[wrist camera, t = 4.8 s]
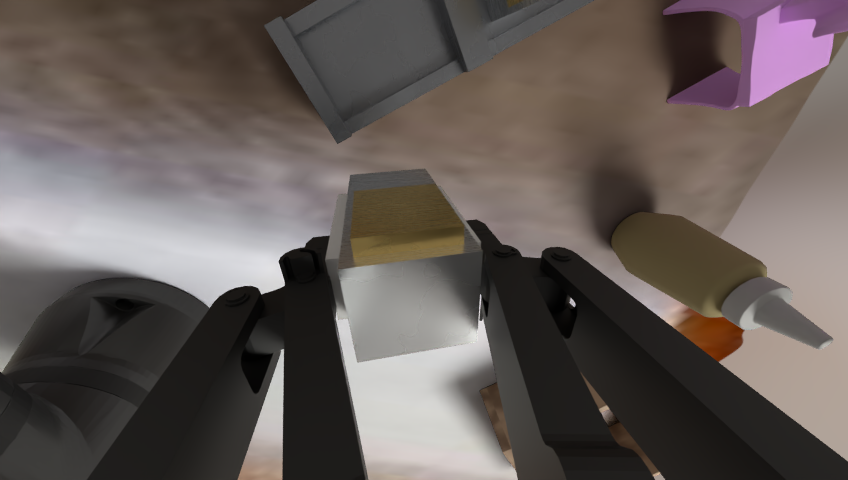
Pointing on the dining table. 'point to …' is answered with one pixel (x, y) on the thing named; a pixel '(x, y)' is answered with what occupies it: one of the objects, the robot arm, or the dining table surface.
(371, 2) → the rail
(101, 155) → the dining table surface
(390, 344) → the gold-topped white block
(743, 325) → the squeeze bottle
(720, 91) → the toy chair
